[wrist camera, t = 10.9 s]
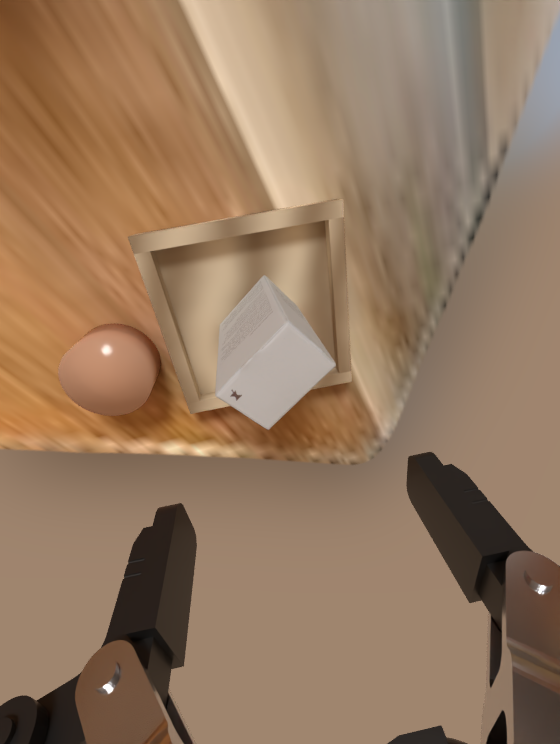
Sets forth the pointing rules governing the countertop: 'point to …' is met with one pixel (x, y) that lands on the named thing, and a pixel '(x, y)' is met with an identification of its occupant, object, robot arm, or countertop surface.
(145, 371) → the tan rounded blob
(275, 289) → the skincare box
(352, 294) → the countertop surface
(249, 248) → the maple tray
